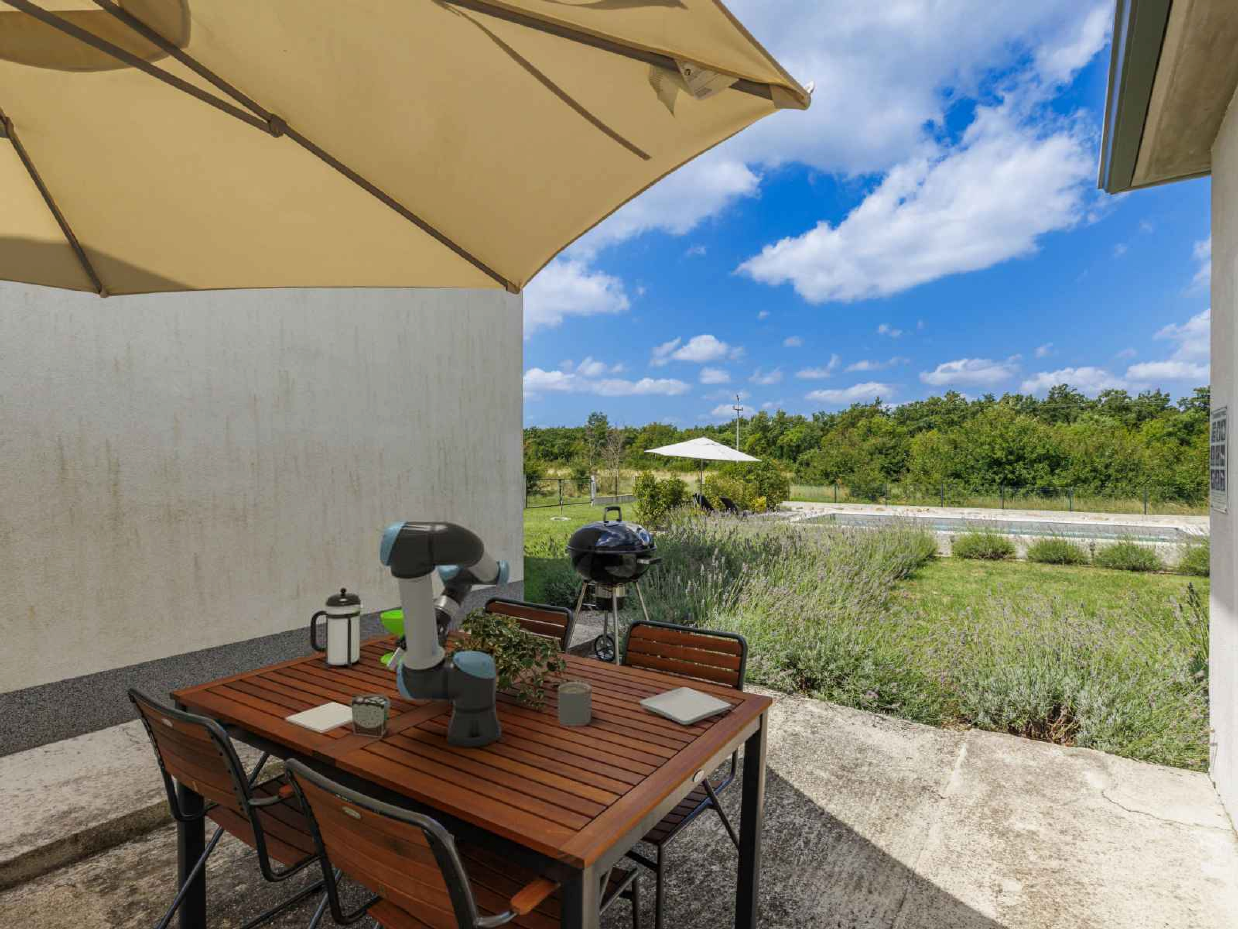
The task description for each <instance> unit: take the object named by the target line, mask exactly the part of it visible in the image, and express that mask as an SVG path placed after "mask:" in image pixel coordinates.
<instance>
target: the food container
mask: <svg viewBox="0 0 1238 929" xmlns="http://www.w3.org/2000/svg"><path fill="white" fill-rule="evenodd" d="M349 702H350V703H349V707H351V708H352V718H353V722H352V728H353V735H355V736H358V735H359V736H363V737H365V736H366V737H371V738H383V737H385V736H386V731H387V723H388V722H387V721H388V711H389V709H390V708H391V706H392V704H391V701H390V699H389V697H388V696H387V695H384V694H379V693H378V694H377V693H374V694H364V695H359V696H355V697H353V698H351V699H350V701H349Z"/></svg>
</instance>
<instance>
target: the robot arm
mask: <svg viewBox="0 0 1238 929" xmlns="http://www.w3.org/2000/svg"><path fill="white" fill-rule="evenodd" d="M379 560H380V563H381V565H383V566H385V567H390V574H391V576H392V577H393V578H395V579H396V580H397V583H398V588H399V599H400V605H401V606H400V607H401V610H402V614H403V622H404V630H405V634H404V635H403V636H402V637H401V638H400V639H399V638H398V639H397V640H396V641H395V642H394V645H395V646H396V649H395V650H394V651H393V652H394V654H393V655H392V658H391V659H390V661H389V662H388V664H385V665H386V667H387V668H388V669H389V670H391V671H394V670H395V668H396V667H397V670H396V674H397V676H396V684H397V689H398V692H399V694H400V695H401V697H402V698H403V699H406V700H409V701H410V700H411V701H417V702H421V701H450V702H451V701H453V702H452V704H453V712H452V714H451V717H450V722H449V726H448V727H447V730H446V741H447V742H448V743H449V744H450V745H452V746H455V747H459V748H478V747H479V748H480V747H483V746H487V745H490V744H494V743H495V742H496V741H498V740H499V739H500V738H501V736H502V725H501V723H500V721H499V717H498V712H497V709H496V676H497V674H496V673H497V672H496V662H495V660H494V658H493V657H492V656H491V655H489V654H487V653H485V652H481V651H474V650H466V651H459V652H456V653H454V655H453V657H446V647H447V643H448V637H449V635H450V633H451V630H450V629H449V628H448V627H449V625H450V623H451V622H452V619H453V618H454V616H455V615H456V614H457V612H458V610H459V609H460V607H461V606H462V604H463V602H464V601H465V599H466V597H468V595H469V593H471V590H472V589H473V586H505V585H507V584H508V582H509V581H510V565H509V563H508V562H506V561H501V560H498V561H496V560H495V559H494V558H493V557H492V555H491V554H490V552H488V551H487V550H486V548H485V546H484V542H483V541H482V539H481V538H480V537H479V536H478V535H477V534H475V533H474V532H473V531H471V530H469V529H468V528H466V527H463V526H461V525H459V524H456V523H453V522H447V521H408V520H405V521H395V522H391V523H390V524H388V525H387V527H385V530H384V532H383V535H382V538H381V541H380V548H379ZM436 568H437V569H436ZM436 570H437V572H438V577H439V578H440V581H441V582H442V584H443V587H444V589H443V590H442V591H441V593H440V595H439V596H438V597H437V599H436V600H434V599H435V598H434V591H433V590H434V589H433V582H432V574H433V573H434V572H435V571H436ZM403 646H404V647H403ZM405 651H407V652H406V653H405ZM404 653H405V655H404ZM403 655H404V656H403ZM402 656H403V659H402V660H401V661H400V659H401V658H402ZM399 661H400V663H399V664H398V662H399Z"/></svg>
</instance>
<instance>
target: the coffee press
mask: <svg viewBox="0 0 1238 929" xmlns="http://www.w3.org/2000/svg"><path fill="white" fill-rule="evenodd" d="M339 591H340V593H336V594H332V595H330V596H329V597H328V598H326V601H325V602H324V605H325V607H326V608H325V610H319V611H317V612H315V613H314V614H313V615H312V616H311V619H310V631H309V634H310V640H309V641H310V645H311V647H312V649H313V650H314V651H315V652H318V653H323V654H325V661H324V663H323V665H322V669H324V670H327V669H328V668H329V667H330V666H344V665H345V666H346V668H347V670H351V669H353V664H352V663H355V662H361V663H362V661H363V658H362V656H361V654H360V653H361V652H360V638H361V637H360V632H361V629H360V620H361V617H360V616H361V609H362V610H364V606H363V603H362V600H361V598H360V597H359V595H357V594H355V593H351V592H350V593H349V592H348V593H347V589H346V588H345V587H342V588H340V590H339ZM321 616H325V647H321V646H319V645H318V644H317V621H318V620H317V619H318V618H319V617H321ZM359 659H360V660H359ZM325 666H326V667H325Z"/></svg>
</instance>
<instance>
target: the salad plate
mask: <svg viewBox="0 0 1238 929" xmlns="http://www.w3.org/2000/svg"><path fill="white" fill-rule="evenodd" d="M639 704H640V705H641V706H642V707H643V708H644V709H646V710H649V711H651V712H654V713H655V712H656V714H658V715H660V716H662V717H664V716H665V718H667V719H669V720H671V719H672V721H674V722H677V723H678V724H680V725H685V726H686V725H687V726H688V725H691V724H693V723H695V722H699V721H702V720H705V719H707V718H711V717H712V716H716V715H718V714H721V713H723V712H725V711H727V710H728V709H729V708H730V707H732V706H731V705H732V704H731V703H729V702H727V701H724V700H721V699H719V698H716V697H714V696H711V695H709V694H706V693H704V692H701V691H697V690H696V689H692V688H690V687H687V686H683V687H680V688H677V689H673V690H669V691H667V692H663V693H660V694H657V695H654V696H651V697H648V698H645V699H642V700H639ZM704 718H705V719H704Z"/></svg>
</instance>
